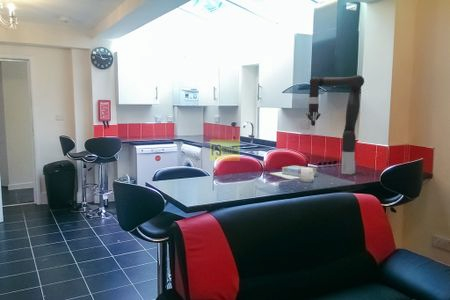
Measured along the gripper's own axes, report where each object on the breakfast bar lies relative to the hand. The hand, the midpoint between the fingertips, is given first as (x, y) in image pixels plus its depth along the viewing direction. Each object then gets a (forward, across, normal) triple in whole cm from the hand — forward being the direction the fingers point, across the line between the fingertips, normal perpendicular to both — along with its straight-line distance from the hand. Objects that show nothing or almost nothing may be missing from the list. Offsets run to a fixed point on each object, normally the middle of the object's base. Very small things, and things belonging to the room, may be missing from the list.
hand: (313, 125), depth 288 cm
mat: (+37, -23, -4) cm, 44 cm away
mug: (+37, -26, -27) cm, 53 cm away
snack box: (+34, -10, -5) cm, 35 cm away
